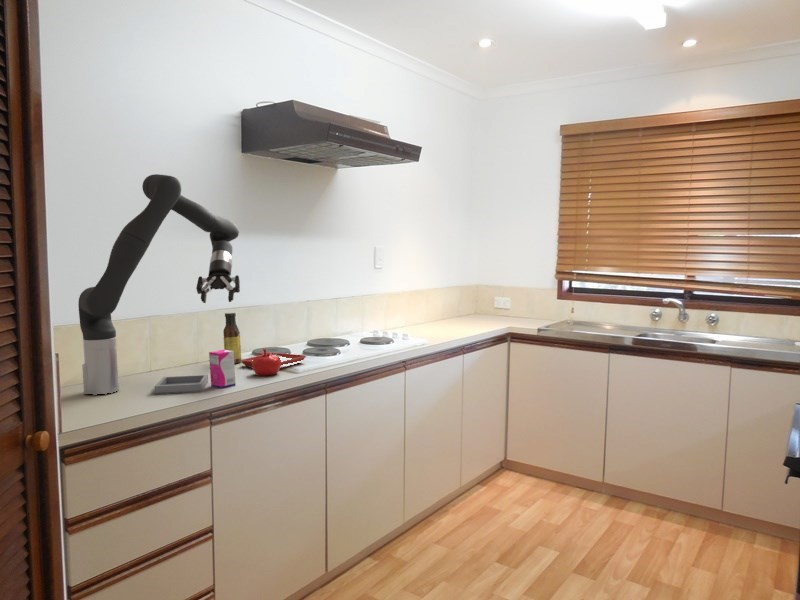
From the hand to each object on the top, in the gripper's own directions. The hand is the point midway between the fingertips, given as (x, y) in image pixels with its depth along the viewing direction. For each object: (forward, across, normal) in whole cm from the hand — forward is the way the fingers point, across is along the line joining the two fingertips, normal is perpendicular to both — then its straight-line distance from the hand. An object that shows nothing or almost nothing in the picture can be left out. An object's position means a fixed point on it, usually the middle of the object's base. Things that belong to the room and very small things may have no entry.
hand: (216, 301), depth 202 cm
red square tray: (+5, +16, +35) cm, 39 cm away
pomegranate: (+17, +15, +22) cm, 32 cm away
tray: (+28, -10, +10) cm, 31 cm away
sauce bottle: (0, 0, +39) cm, 39 cm away
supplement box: (+27, +2, +11) cm, 30 cm away
